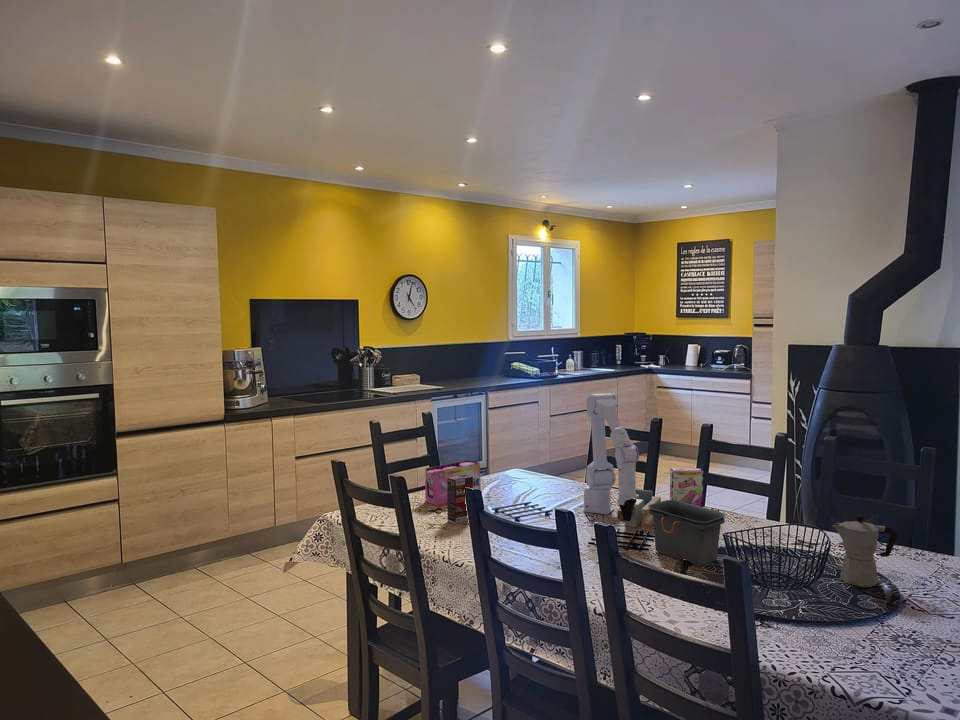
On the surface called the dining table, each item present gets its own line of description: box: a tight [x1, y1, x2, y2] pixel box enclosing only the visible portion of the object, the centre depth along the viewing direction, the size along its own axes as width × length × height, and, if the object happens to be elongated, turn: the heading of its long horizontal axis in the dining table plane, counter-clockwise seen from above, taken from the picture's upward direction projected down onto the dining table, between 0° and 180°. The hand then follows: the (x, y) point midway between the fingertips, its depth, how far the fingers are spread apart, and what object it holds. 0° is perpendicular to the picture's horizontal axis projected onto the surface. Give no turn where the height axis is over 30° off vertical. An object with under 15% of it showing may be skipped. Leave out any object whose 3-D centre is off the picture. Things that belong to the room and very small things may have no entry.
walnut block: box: [616, 508, 623, 520], centre depth 247 cm, size 3×6×3 cm, turn 151°
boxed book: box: [624, 499, 644, 528], centre depth 241 cm, size 4×10×7 cm, turn 151°
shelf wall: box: [641, 496, 662, 531], centre depth 241 cm, size 2×18×7 cm, turn 152°
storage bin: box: [648, 499, 727, 567], centre depth 206 cm, size 21×16×14 cm
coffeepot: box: [832, 514, 899, 588], centre depth 185 cm, size 15×9×18 cm, turn 68°
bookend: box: [634, 488, 653, 506], centre depth 251 cm, size 6×3×9 cm, turn 62°
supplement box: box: [446, 475, 473, 525], centre depth 246 cm, size 9×5×16 cm, turn 131°
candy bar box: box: [669, 467, 704, 508], centre depth 250 cm, size 11×5×16 cm, turn 84°
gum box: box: [424, 459, 481, 506], centre depth 276 cm, size 24×8×14 cm, turn 130°
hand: (627, 520), depth 235 cm, fingers closed
